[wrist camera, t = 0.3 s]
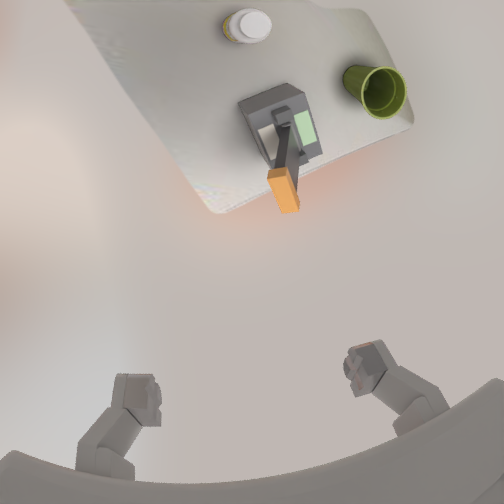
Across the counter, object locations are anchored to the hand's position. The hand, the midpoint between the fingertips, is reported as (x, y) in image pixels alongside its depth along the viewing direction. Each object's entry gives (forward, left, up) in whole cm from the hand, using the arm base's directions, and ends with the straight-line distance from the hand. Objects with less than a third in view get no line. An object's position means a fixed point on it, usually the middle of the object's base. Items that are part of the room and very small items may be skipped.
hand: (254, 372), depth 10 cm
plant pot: (-24, +27, -51) cm, 62 cm away
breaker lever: (-4, +18, -40) cm, 44 cm away
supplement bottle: (-16, 0, -51) cm, 53 cm away
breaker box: (-4, +18, -51) cm, 54 cm away
